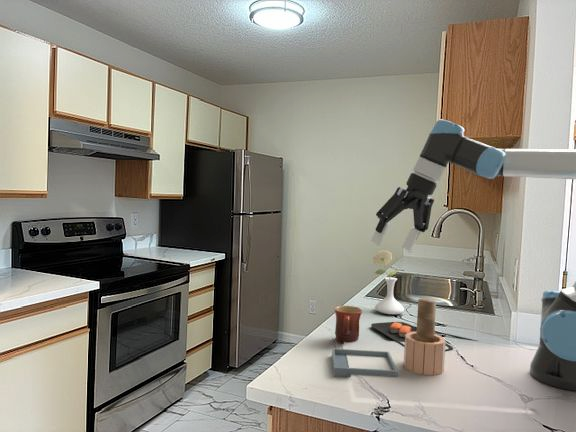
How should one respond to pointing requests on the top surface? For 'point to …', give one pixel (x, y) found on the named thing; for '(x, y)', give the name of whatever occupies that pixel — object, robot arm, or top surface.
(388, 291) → the flower in vase
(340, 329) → the mug
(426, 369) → the cup
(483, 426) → the top surface
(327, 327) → the top surface
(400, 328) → the sushi plate
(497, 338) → the top surface
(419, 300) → the peg
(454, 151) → the robot arm
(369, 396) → the top surface
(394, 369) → the tray
